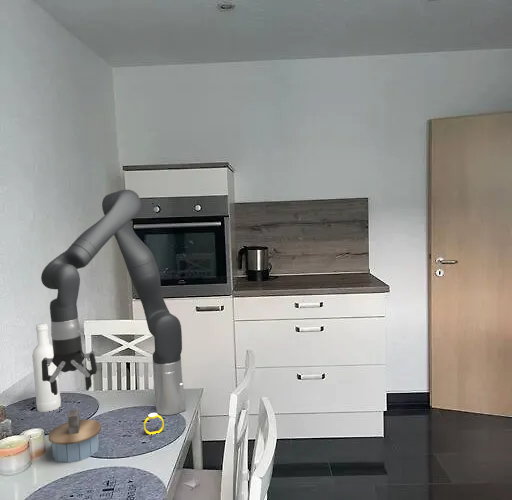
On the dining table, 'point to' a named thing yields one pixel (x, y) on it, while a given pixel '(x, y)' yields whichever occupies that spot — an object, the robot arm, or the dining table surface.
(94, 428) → the lid
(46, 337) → the bottle
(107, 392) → the dining table surface
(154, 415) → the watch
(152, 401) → the dining table surface
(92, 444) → the bowl
